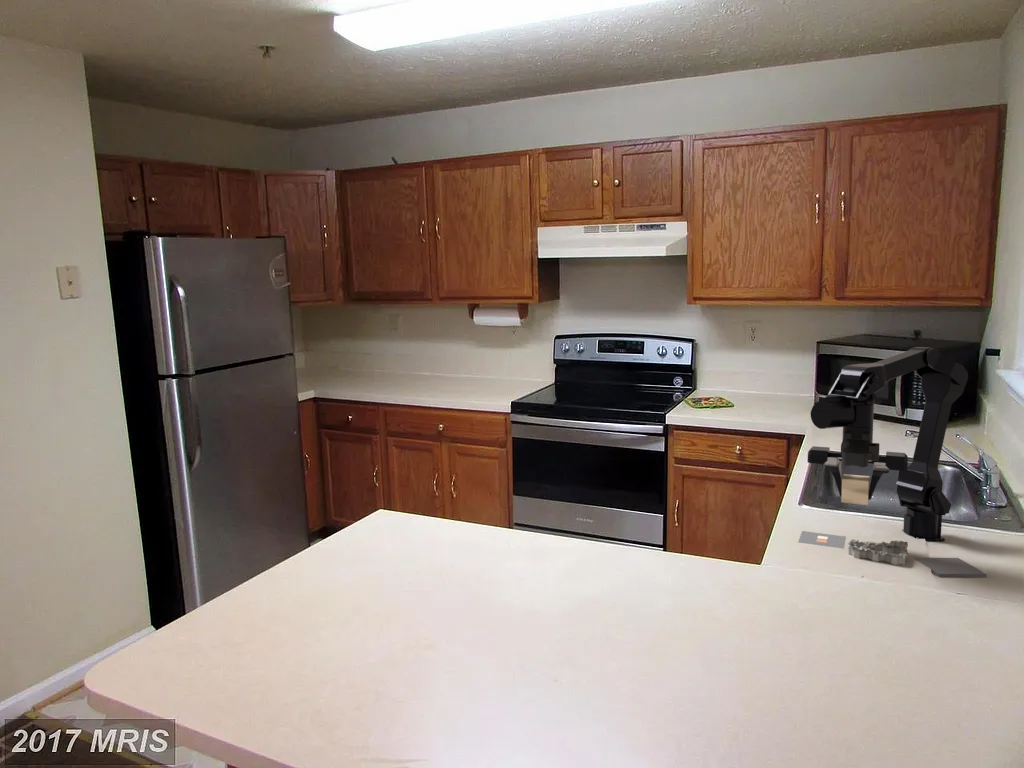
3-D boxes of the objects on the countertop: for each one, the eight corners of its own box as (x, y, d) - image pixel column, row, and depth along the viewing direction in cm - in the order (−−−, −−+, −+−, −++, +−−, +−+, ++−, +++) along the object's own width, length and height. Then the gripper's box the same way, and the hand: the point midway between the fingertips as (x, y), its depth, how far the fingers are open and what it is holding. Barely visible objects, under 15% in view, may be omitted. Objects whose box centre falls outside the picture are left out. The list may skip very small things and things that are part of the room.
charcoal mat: (957, 560, 141) (958, 557, 141) (986, 577, 132) (986, 574, 132) (912, 560, 142) (912, 557, 141) (938, 576, 133) (938, 573, 133)
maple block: (842, 496, 152) (843, 474, 151) (868, 499, 149) (869, 476, 149) (841, 502, 147) (842, 478, 147) (867, 505, 145) (868, 481, 144)
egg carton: (909, 561, 142) (911, 541, 142) (903, 571, 136) (904, 551, 136) (853, 550, 149) (853, 531, 148) (844, 560, 143) (845, 540, 142)
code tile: (802, 533, 159) (802, 530, 159) (845, 539, 155) (845, 536, 155) (797, 544, 152) (798, 542, 151) (843, 551, 147) (843, 548, 147)
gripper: (805, 428, 144) (803, 502, 146) (909, 434, 135) (905, 513, 137) (811, 420, 154) (809, 489, 155) (908, 426, 145) (905, 499, 146)
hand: (855, 498), depth 148 cm, fingers closed on maple block, 5 cm apart
